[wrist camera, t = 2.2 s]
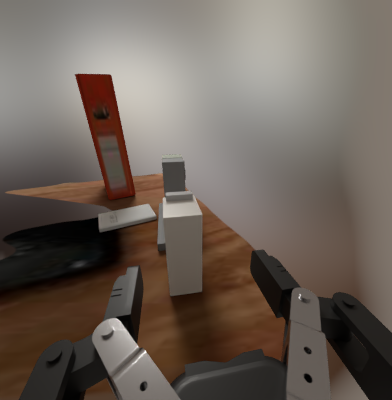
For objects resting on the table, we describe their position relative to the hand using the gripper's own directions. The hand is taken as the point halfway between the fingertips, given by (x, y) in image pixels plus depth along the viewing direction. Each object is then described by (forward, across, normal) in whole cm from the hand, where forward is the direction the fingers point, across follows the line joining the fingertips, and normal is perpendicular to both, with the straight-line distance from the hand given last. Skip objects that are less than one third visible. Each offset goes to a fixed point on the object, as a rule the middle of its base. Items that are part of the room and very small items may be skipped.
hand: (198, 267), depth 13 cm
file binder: (+54, +18, +11) cm, 59 cm away
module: (+12, 0, +12) cm, 17 cm away
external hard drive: (+33, +12, +12) cm, 37 cm away
